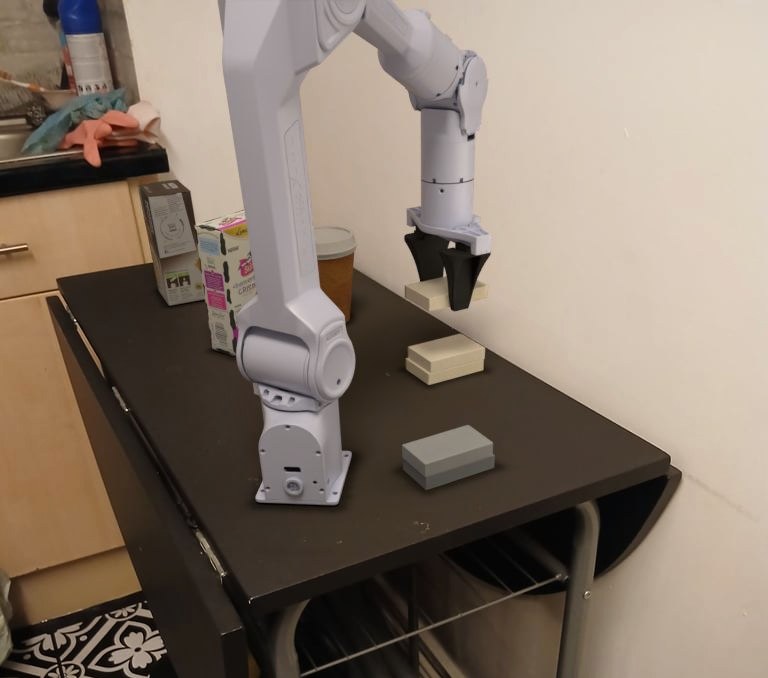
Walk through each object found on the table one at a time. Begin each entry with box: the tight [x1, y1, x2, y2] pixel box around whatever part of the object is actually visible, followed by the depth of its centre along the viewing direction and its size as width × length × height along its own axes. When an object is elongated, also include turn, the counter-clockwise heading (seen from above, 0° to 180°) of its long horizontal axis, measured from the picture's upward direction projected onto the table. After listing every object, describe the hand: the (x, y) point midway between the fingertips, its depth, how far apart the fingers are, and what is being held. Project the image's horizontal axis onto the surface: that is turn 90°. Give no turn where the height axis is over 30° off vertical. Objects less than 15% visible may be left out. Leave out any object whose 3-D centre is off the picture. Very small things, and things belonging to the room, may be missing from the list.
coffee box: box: [137, 179, 205, 307], centre depth 120 cm, size 9×6×16 cm
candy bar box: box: [194, 209, 257, 357], centre depth 104 cm, size 11×5×16 cm, turn 146°
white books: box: [404, 333, 486, 386], centre depth 98 cm, size 8×6×3 cm
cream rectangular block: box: [404, 275, 489, 312], centre depth 92 cm, size 8×6×2 cm
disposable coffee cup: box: [314, 225, 358, 324], centre depth 110 cm, size 10×10×12 cm
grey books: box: [401, 424, 496, 491], centre depth 78 cm, size 8×4×3 cm, turn 119°
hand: (445, 301), depth 93 cm, fingers closed on cream rectangular block, 5 cm apart
